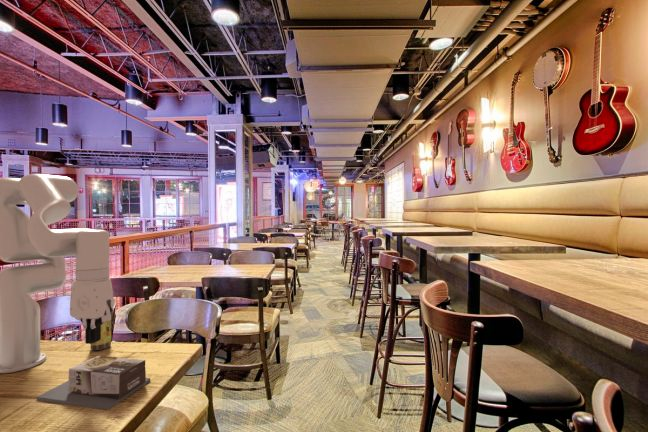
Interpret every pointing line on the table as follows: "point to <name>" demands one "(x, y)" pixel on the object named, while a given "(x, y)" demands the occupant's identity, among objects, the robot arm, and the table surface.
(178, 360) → the table surface
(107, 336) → the sauce bottle
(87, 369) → the coffee box
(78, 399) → the rubber mat
